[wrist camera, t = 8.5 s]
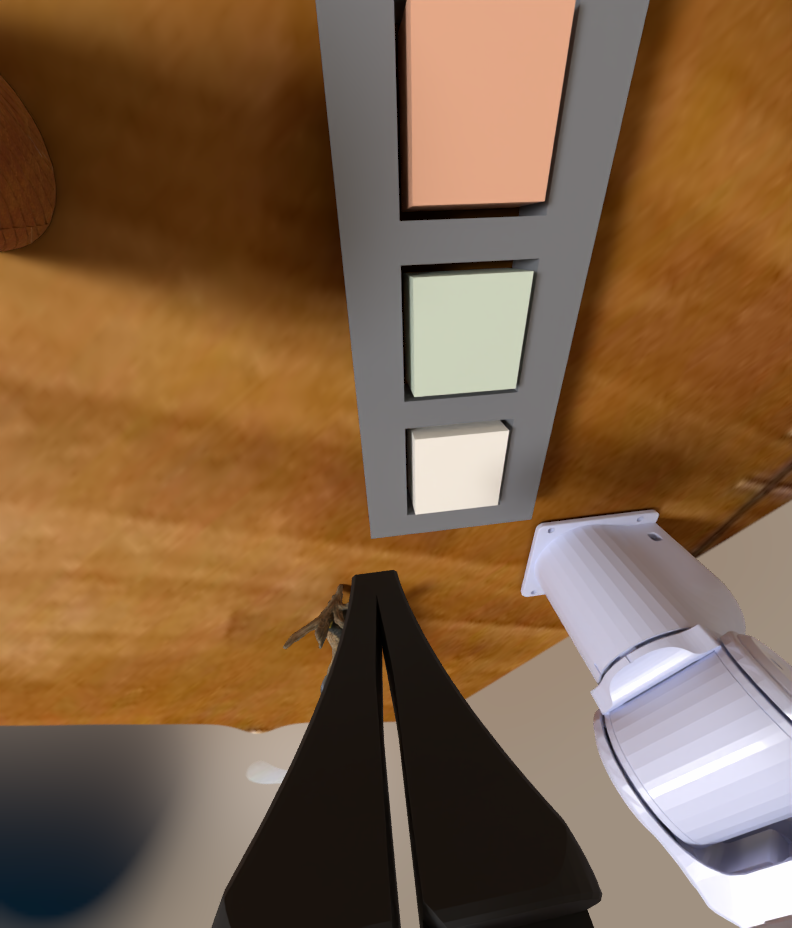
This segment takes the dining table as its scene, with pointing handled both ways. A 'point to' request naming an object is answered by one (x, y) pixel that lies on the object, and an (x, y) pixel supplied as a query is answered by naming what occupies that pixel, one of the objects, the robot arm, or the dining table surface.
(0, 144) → the disposable coffee cup
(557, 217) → the key frame
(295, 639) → the eagle figurine
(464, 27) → the terracotta key
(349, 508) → the dining table surface
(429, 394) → the sage key
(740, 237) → the dining table surface
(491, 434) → the ivory key
